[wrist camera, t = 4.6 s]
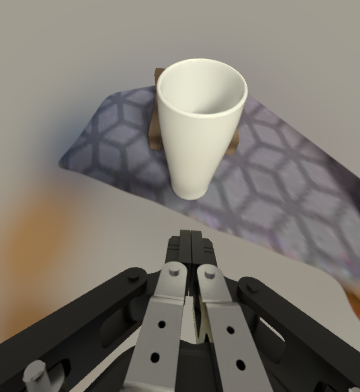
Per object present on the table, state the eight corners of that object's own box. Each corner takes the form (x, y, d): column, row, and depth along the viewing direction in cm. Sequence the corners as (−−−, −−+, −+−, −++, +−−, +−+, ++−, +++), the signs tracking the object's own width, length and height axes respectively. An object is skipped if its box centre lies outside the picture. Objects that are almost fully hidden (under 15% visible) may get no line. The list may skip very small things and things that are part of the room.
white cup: (186, 158, 29) (194, 47, 15) (222, 182, 27) (267, 81, 14) (156, 187, 27) (135, 86, 13) (193, 216, 25) (212, 133, 11)
